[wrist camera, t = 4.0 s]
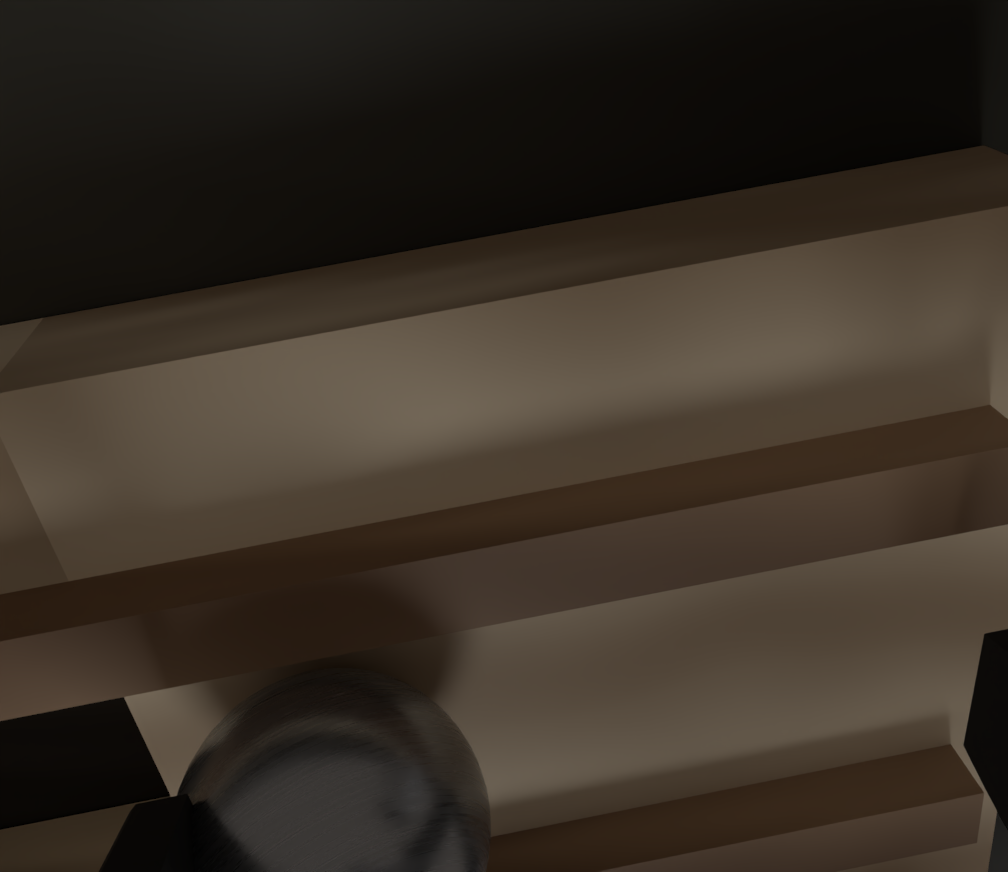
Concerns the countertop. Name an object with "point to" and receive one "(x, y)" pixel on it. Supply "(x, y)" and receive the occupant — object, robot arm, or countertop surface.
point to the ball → (338, 782)
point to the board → (556, 518)
